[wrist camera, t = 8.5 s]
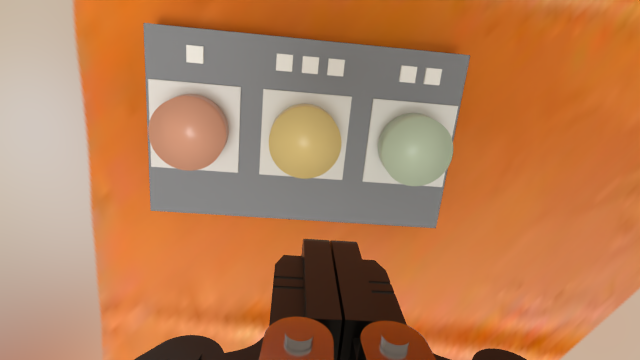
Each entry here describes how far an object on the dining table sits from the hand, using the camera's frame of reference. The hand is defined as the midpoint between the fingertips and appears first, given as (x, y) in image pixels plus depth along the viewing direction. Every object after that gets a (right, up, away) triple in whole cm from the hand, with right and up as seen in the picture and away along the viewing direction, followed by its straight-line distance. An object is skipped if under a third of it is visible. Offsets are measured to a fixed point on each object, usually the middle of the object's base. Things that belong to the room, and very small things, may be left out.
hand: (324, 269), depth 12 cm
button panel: (-1, +6, +18) cm, 19 cm away
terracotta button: (-8, +6, +14) cm, 17 cm away
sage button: (+6, +5, +15) cm, 17 cm away
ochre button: (-1, +5, +15) cm, 16 cm away
